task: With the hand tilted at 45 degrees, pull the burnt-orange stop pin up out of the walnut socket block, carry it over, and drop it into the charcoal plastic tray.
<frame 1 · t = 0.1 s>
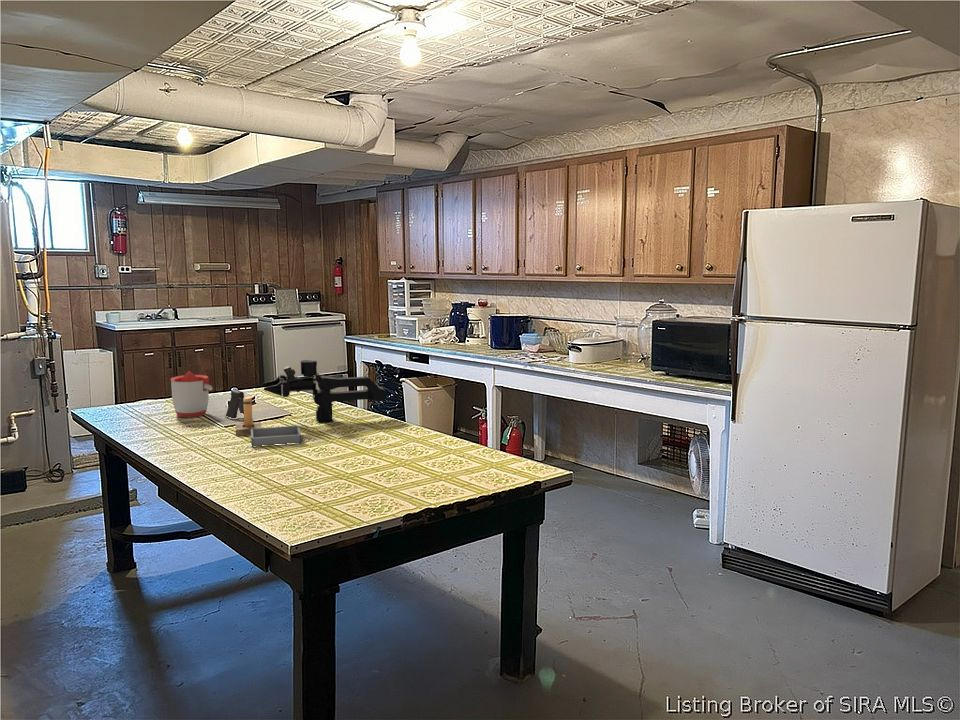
hand: (263, 386, 293), 17 cm above the table, tool horizontal, fingers open, 9 cm apart
tray: (276, 440, 273), on the table
stop pin: (248, 415, 283), in the socket block
citrus juicer: (193, 415, 309), on the table
socket block: (248, 431, 284), on the table
dark grey a-frame piece: (238, 417, 307), on the table
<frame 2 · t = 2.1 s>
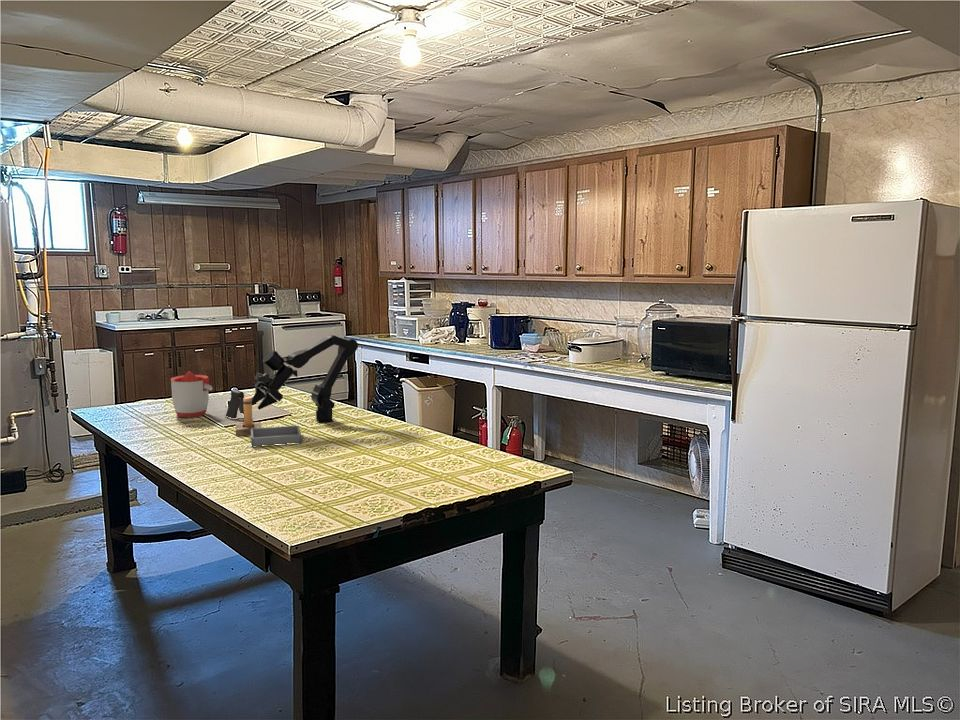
hand: (254, 406, 284), 10 cm above the table, tool tilted 45°, fingers open, 9 cm apart
nothing on the table moved.
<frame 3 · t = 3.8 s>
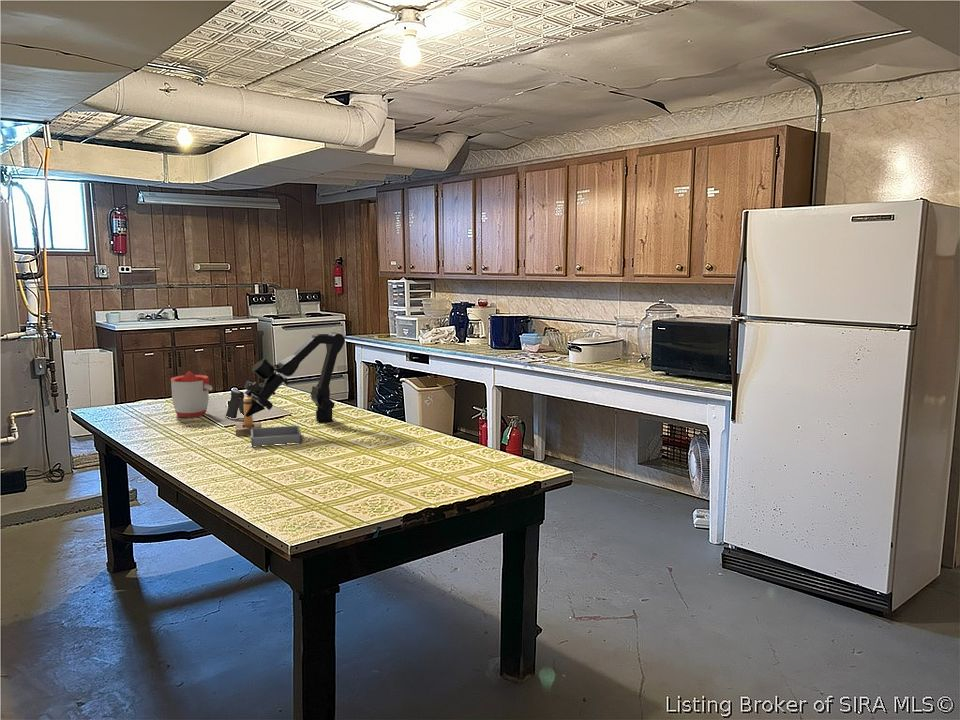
hand: (244, 415, 282), 7 cm above the table, tool tilted 45°, fingers closed on stop pin, 3 cm apart
stop pin: (248, 415, 283), in the socket block, touching gripper
everything else where it was.
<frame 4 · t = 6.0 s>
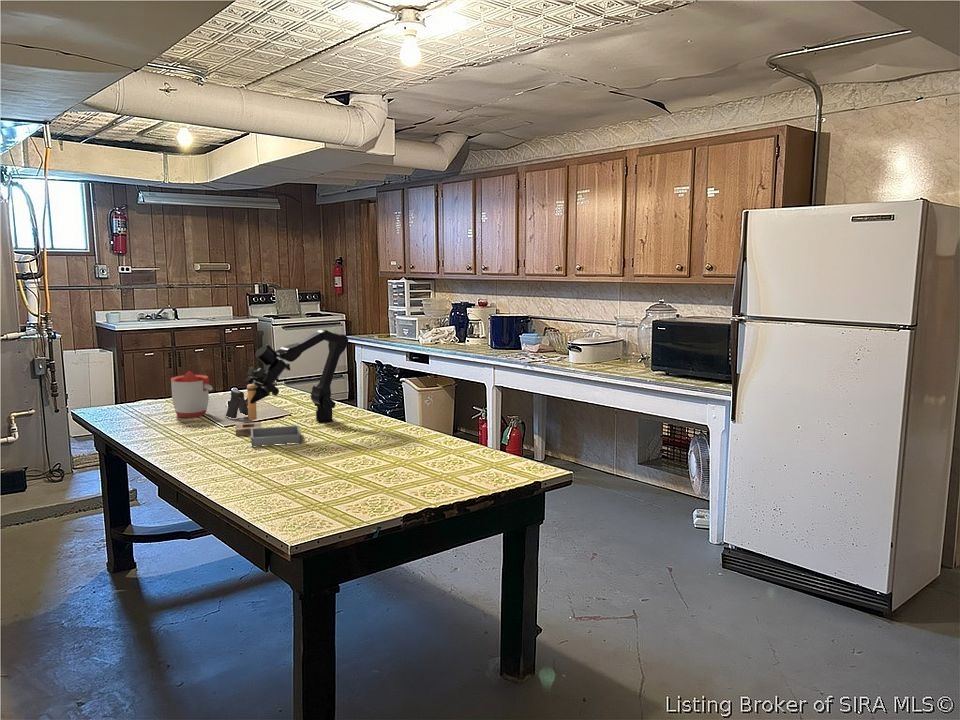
hand: (248, 402, 277), 13 cm above the table, tool tilted 45°, fingers closed on stop pin, 3 cm apart
stop pin: (251, 402, 278), point 13 cm above the table, touching gripper
everything else where it was.
when the fingers open (9 cm above the table, at t = 8.2 s): stop pin drops 2 cm, resting on tray.
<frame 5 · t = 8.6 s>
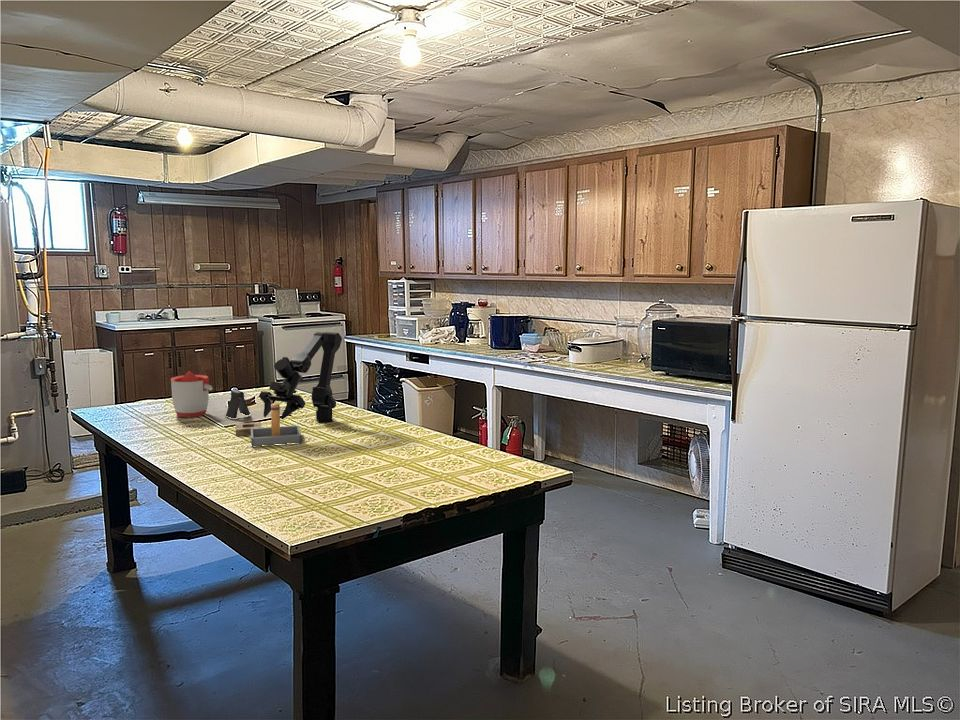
hand: (273, 417, 270), 10 cm above the table, tool tilted 45°, fingers open, 8 cm apart
stop pin: (275, 421, 271), in the tray, point 8 cm above the table
everything else where it was.
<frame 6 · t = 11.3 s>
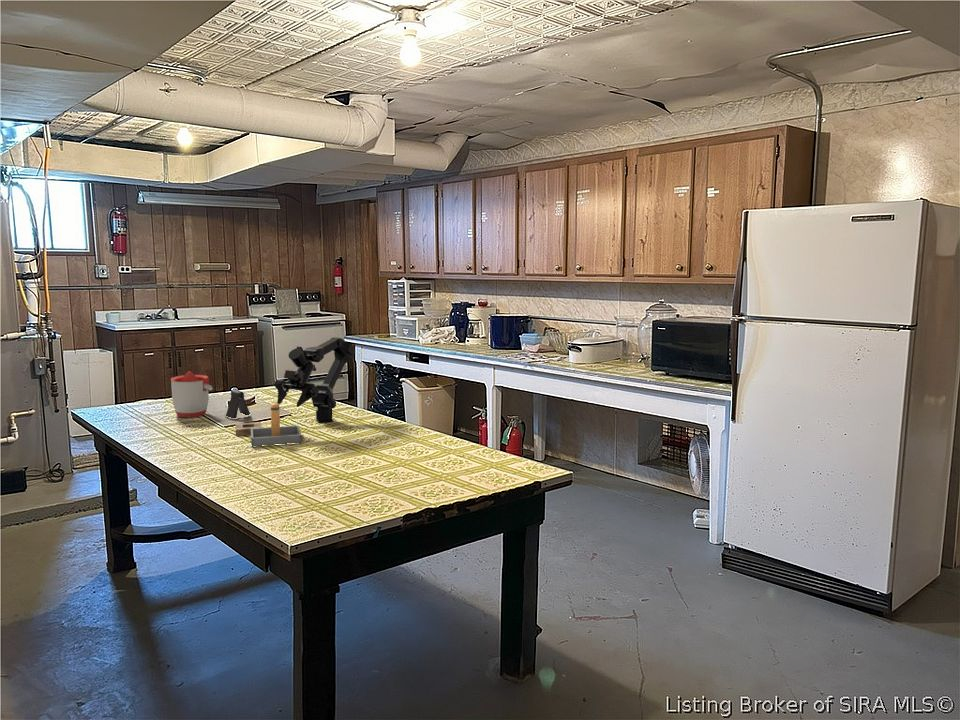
hand: (287, 405, 278), 13 cm above the table, tool tilted 45°, fingers open, 9 cm apart
nothing on the table moved.
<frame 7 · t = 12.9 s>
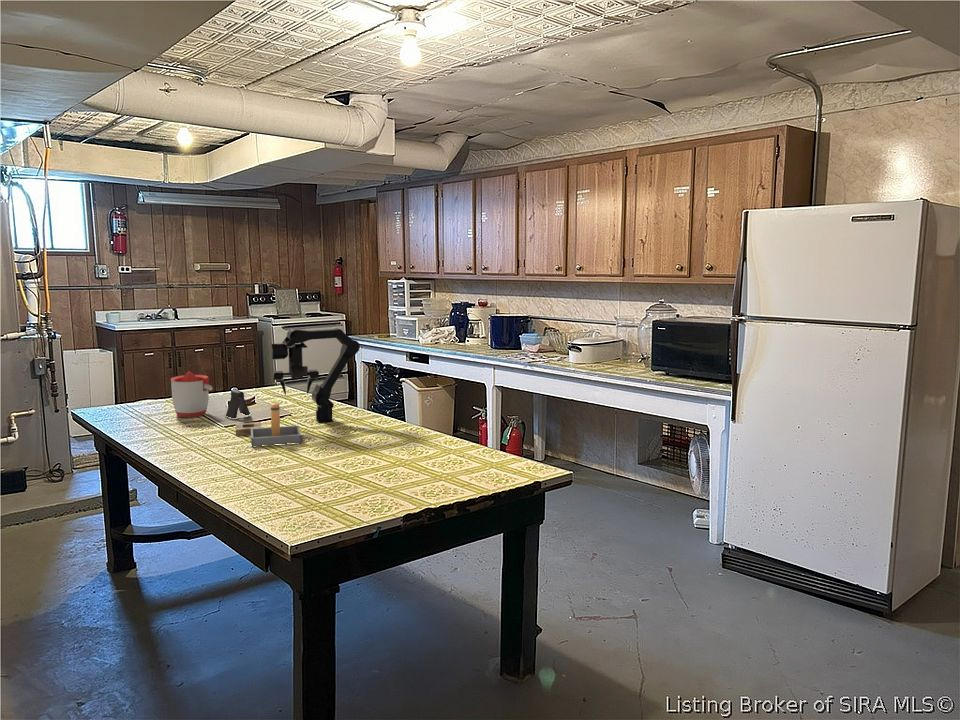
hand: (296, 394, 296), 13 cm above the table, tool pointing down, fingers open, 9 cm apart
nothing on the table moved.
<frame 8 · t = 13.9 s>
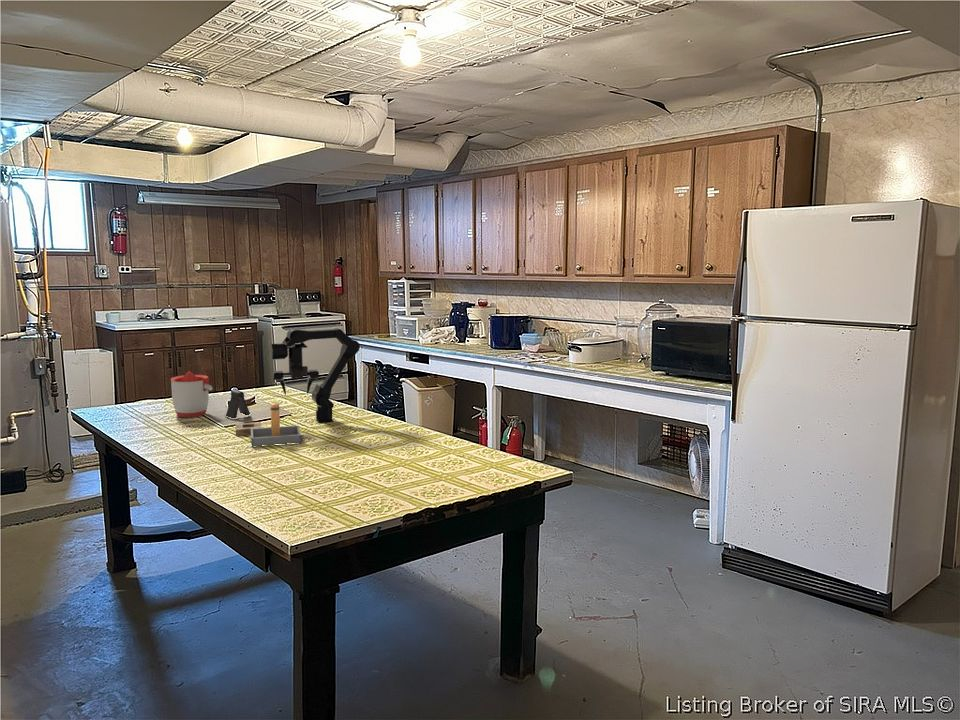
hand: (296, 394, 296), 13 cm above the table, tool pointing down, fingers open, 9 cm apart
nothing on the table moved.
at the end: stop pin inside the target area on the tray (0.0 cm from its centre), point 7.6 cm above the tray's base; the gripper is holding nothing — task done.
